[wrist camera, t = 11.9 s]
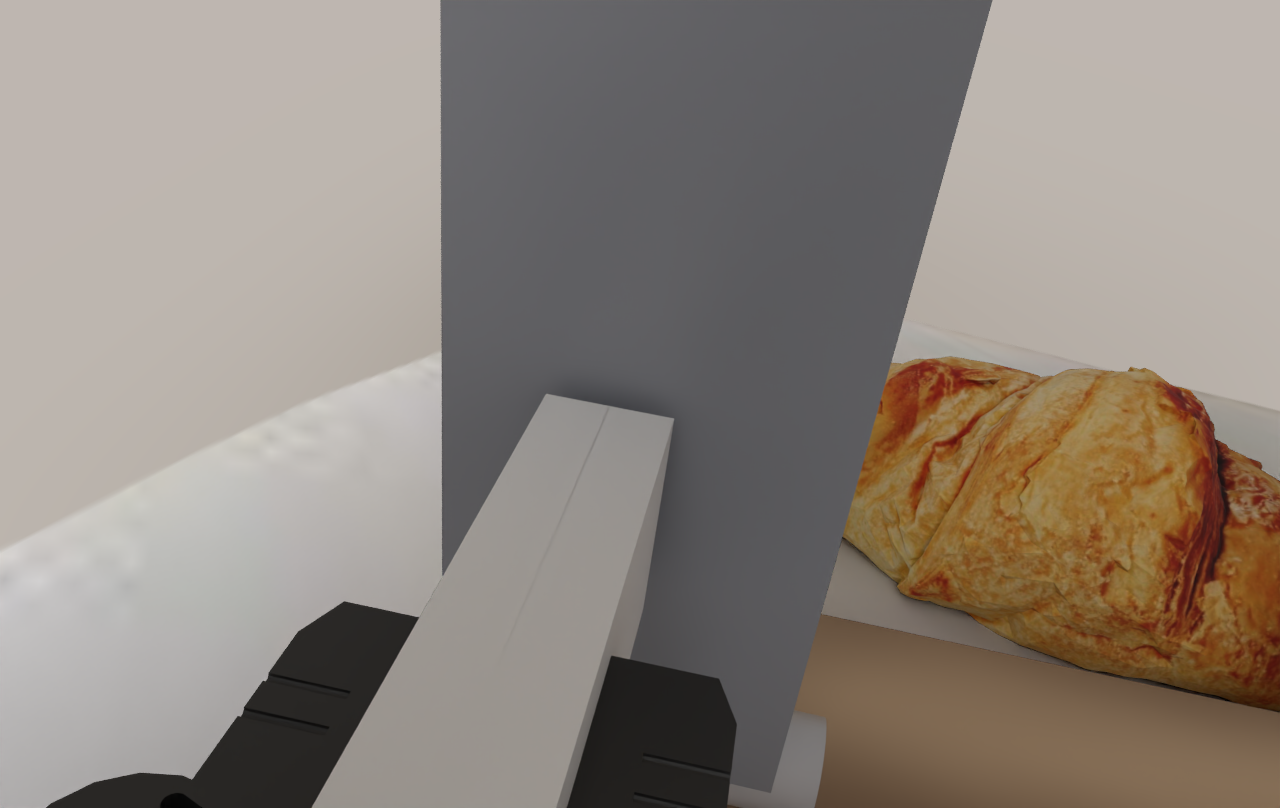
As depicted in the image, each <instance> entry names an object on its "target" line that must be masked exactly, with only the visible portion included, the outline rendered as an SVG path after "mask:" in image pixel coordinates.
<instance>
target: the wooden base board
mask: <svg viewBox="0 0 1280 808" xmlns="http://www.w3.org/2000/svg"><path fill="white" fill-rule="evenodd" d="M794 710H795V711H800V712H804V713H809V714H813V715H818V716H822V717H825V718H826V744H825V753H824V761H823V768H822V774H821V780H820V785H819V790H818V795H817V799H816V803H815V807H814V808H1280V713H1279V712H1274V711H1269V710H1265V709H1260V708H1255V707H1251V706H1246V705H1241V704H1237V703H1232V702H1228V701H1223V700H1218V699H1214V698H1209V697H1204V696H1200V695H1195V694H1190V693H1186V692H1181V691H1176V690H1172V689H1167V688H1162V687H1158V686H1153V685H1148V684H1144V683H1139V682H1135V681H1130V680H1125V679H1121V678H1116V677H1111V676H1107V675H1102V674H1097V673H1093V672H1088V671H1083V670H1079V669H1074V668H1069V667H1065V666H1060V665H1055V664H1051V663H1046V662H1041V661H1037V660H1032V659H1028V658H1023V657H1018V656H1014V655H1009V654H1004V653H1000V652H995V651H990V650H986V649H981V648H976V647H972V646H967V645H962V644H958V643H953V642H948V641H944V640H939V639H934V638H930V637H925V636H921V635H916V634H911V633H907V632H902V631H897V630H893V629H888V628H883V627H879V626H874V625H869V624H865V623H860V622H855V621H851V620H846V619H841V618H837V617H832V616H827V615H823V614H821V615H820V619H819V622H818V626H817V630H816V633H815V637H814V640H813V644H812V648H811V651H810V655H809V658H808V662H807V665H806V669H805V673H804V676H803V680H802V683H801V687H800V690H799V694H798V698H797V701H796V705H795V708H794ZM727 808H740V807H736V806H732V805H728V804H727Z"/></svg>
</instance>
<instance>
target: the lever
mask: <svg viewBox="0 0 1280 808" xmlns="http://www.w3.org/2000/svg"><path fill="white" fill-rule="evenodd" d="M991 3H992V0H441V253H442V254H441V255H442V256H441V271H442V272H441V275H442V277H441V281H442V282H441V287H442V577H443V575H444V573H445V571H446V570H447V568H448V566H449V564H450V563H451V561H452V559H453V557H454V555H455V554H456V552H457V550H458V548H459V547H460V545H461V543H462V541H463V540H464V538H465V536H466V534H467V533H468V531H469V529H470V527H471V525H472V524H473V522H474V520H475V518H476V517H477V515H478V513H479V511H480V510H481V508H482V506H483V504H484V503H485V501H486V499H487V497H488V495H489V494H490V492H491V490H492V488H493V487H494V485H495V483H496V481H497V480H498V478H499V476H500V474H501V473H502V471H503V469H504V467H505V465H506V464H507V462H508V460H509V458H510V457H511V455H512V453H513V451H514V450H515V448H516V446H517V444H518V443H519V441H520V439H521V437H522V435H523V434H524V432H525V430H526V428H527V427H528V425H529V423H530V421H531V420H532V418H533V416H534V414H535V413H536V411H537V409H538V407H539V405H540V404H541V402H542V400H543V398H544V397H545V395H546V394H550V395H556V396H561V397H566V398H571V399H576V400H581V401H586V402H592V403H597V404H602V405H607V406H612V407H617V408H622V409H627V410H633V411H638V412H643V413H648V414H653V415H658V416H664V417H669V418H674V423H673V429H672V436H671V442H670V448H669V454H668V460H667V466H666V472H665V478H664V485H663V491H662V497H661V503H660V509H659V515H658V521H657V527H656V534H655V540H654V546H653V552H652V558H651V564H650V570H649V576H648V583H647V589H646V595H645V601H644V607H643V611H642V615H641V619H640V623H639V626H638V630H637V634H636V638H635V641H634V645H633V649H632V653H631V656H630V660H635V661H640V662H644V663H649V664H654V665H658V666H663V667H667V668H672V669H677V670H681V671H686V672H691V673H695V674H700V675H705V676H709V677H714V678H719V680H720V682H721V685H722V687H723V690H724V692H725V695H726V697H727V700H728V702H729V705H730V708H731V710H732V713H733V715H734V718H735V720H736V723H737V728H736V737H735V745H734V753H733V761H732V770H731V776H730V786H729V795H728V803H727V804H728V805H732V806H736V807H740V808H814V807H815V803H816V799H817V795H818V790H819V785H820V780H821V774H822V768H823V761H824V753H825V744H826V718H825V717H822V716H818V715H813V714H809V713H804V712H800V711H795V710H794V708H795V705H796V701H797V698H798V694H799V690H800V687H801V683H802V680H803V676H804V673H805V669H806V665H807V662H808V658H809V655H810V651H811V648H812V644H813V640H814V637H815V633H816V630H817V626H818V622H819V619H820V615H821V612H822V608H823V605H824V601H825V597H826V594H827V590H828V587H829V583H830V580H831V576H832V572H833V569H834V565H835V562H836V558H837V554H838V551H839V547H840V544H841V540H842V537H843V533H844V529H845V526H846V522H847V519H848V515H849V512H850V508H851V504H852V501H853V497H854V494H855V490H856V486H857V483H858V479H859V476H860V472H861V469H862V465H863V461H864V458H865V454H866V451H867V447H868V444H869V440H870V436H871V433H872V429H873V426H874V422H875V419H876V415H877V411H878V408H879V404H880V401H881V397H882V393H883V390H884V386H885V383H886V379H887V376H888V372H889V368H890V365H891V361H892V358H893V354H894V351H895V347H896V343H897V340H898V336H899V333H900V329H901V325H902V322H903V318H904V315H905V311H906V308H907V304H908V300H909V297H910V293H911V290H912V286H913V283H914V279H915V275H916V272H917V268H918V265H919V261H920V257H921V254H922V250H923V247H924V243H925V239H926V236H927V232H928V229H929V225H930V221H931V218H932V215H933V211H934V207H935V204H936V200H937V197H938V193H939V190H940V186H941V182H942V179H943V175H944V172H945V168H946V164H947V161H948V157H949V154H950V150H951V146H952V142H953V139H954V136H955V132H956V128H957V125H958V122H959V118H960V114H961V111H962V107H963V104H964V100H965V96H966V92H967V89H968V86H969V82H970V79H971V75H972V71H973V68H974V64H975V61H976V57H977V53H978V50H979V46H980V43H981V39H982V36H983V32H984V28H985V25H986V21H987V18H988V14H989V11H990V7H991Z"/></svg>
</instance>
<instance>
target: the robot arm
mask: <svg viewBox="0 0 1280 808" xmlns="http://www.w3.org/2000/svg"><path fill="white" fill-rule="evenodd" d="M673 423H674V418H669V417H664V416H658V415H653V414H648V413H643V412H638V411H633V410H627V409H622V408H617V407H612V406H607V405H602V404H597V403H592V402H586V401H581V400H576V399H571V398H566V397H561V396H556V395H550V394H546V395H545V397H544V398H543V400H542V402H541V404H540V405H539V407H538V409H537V411H536V413H535V414H534V416H533V418H532V420H531V421H530V423H529V425H528V427H527V428H526V430H525V432H524V434H523V435H522V437H521V439H520V441H519V443H518V444H517V446H516V448H515V450H514V451H513V453H512V455H511V457H510V458H509V460H508V462H507V464H506V465H505V467H504V469H503V471H502V473H501V474H500V476H499V478H498V480H497V481H496V483H495V485H494V487H493V488H492V490H491V492H490V494H489V495H488V497H487V499H486V501H485V503H484V504H483V506H482V508H481V510H480V511H479V513H478V515H477V517H476V518H475V520H474V522H473V524H472V525H471V527H470V529H469V531H468V533H467V534H466V536H465V538H464V540H463V541H462V543H461V545H460V547H459V548H458V550H457V552H456V554H455V555H454V557H453V559H452V561H451V563H450V564H449V566H448V568H447V570H446V571H445V573H444V575H443V577H442V578H441V580H440V582H439V584H438V586H437V587H436V589H435V591H434V593H433V594H432V596H431V598H430V600H429V601H428V603H427V605H426V607H425V608H424V610H423V612H422V614H421V616H420V617H414V616H410V615H405V614H400V613H396V612H391V611H386V610H382V609H377V608H372V607H368V606H363V605H359V604H354V603H349V602H345V601H344V602H343V603H341V604H340V605H338V606H337V607H335V608H334V609H332V610H331V611H329V612H327V613H326V614H324V615H323V616H321V617H320V618H318V619H317V620H315V621H314V622H312V623H311V624H309V625H308V626H306V627H305V628H303V629H302V630H300V631H298V633H297V634H296V635H295V637H294V638H293V640H292V641H291V642H290V644H289V645H288V647H287V648H286V649H285V651H284V652H283V654H282V655H281V656H280V658H279V659H278V661H277V662H276V663H275V665H274V666H273V668H272V669H271V670H270V672H269V676H268V679H267V681H266V682H265V681H263V682H262V683H261V684H260V686H259V687H258V689H257V690H256V691H255V693H254V694H253V695H252V697H251V698H250V700H249V701H248V702H247V704H246V705H245V707H244V711H243V714H242V716H241V717H240V716H237V718H236V719H235V721H234V722H233V723H232V725H231V726H230V728H229V729H228V730H227V732H226V733H225V735H224V736H223V737H222V739H221V740H220V742H219V743H218V744H217V746H216V747H215V749H214V750H213V751H212V753H211V754H210V756H209V757H208V758H207V760H206V761H205V763H204V764H203V765H202V767H201V768H200V770H199V771H198V772H197V774H196V775H195V777H194V778H193V779H192V780H191V779H189V778H187V777H184V776H181V775H166V774H151V773H137V774H132V775H127V776H122V777H118V778H113V779H108V780H104V781H99V782H94V783H92V784H90V785H88V786H86V787H84V788H82V789H80V790H78V791H76V792H74V793H72V794H70V795H68V796H66V797H64V798H61V799H59V800H57V801H55V802H53V803H51V804H50V805H49V806H47V807H46V808H727V803H728V795H729V786H730V776H731V770H732V761H733V753H734V745H735V737H736V728H737V723H736V720H735V718H734V715H733V713H732V710H731V708H730V705H729V702H728V700H727V697H726V695H725V692H724V690H723V687H722V685H721V682H720V680H719V678H714V677H709V676H705V675H700V674H695V673H691V672H686V671H681V670H677V669H672V668H667V667H663V666H658V665H654V664H649V663H644V662H640V661H635V660H630V656H631V653H632V649H633V645H634V641H635V638H636V634H637V630H638V626H639V623H640V619H641V615H642V611H643V607H644V601H645V595H646V589H647V583H648V576H649V570H650V564H651V558H652V552H653V546H654V540H655V534H656V527H657V521H658V515H659V509H660V503H661V497H662V491H663V485H664V478H665V472H666V466H667V460H668V454H669V448H670V442H671V436H672V429H673Z"/></svg>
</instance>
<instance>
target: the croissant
mask: <svg viewBox="0 0 1280 808" xmlns="http://www.w3.org/2000/svg"><path fill="white" fill-rule="evenodd" d="M1214 431H1215V429H1214V424H1213V423H1212V422H1211V421H1210V418H1209V416H1208V414H1207V412H1206V410H1205V407H1204V405H1203V403H1202V402H1201V401H1199V400H1198V399H1197V398H1196V397H1195V396H1194V395H1193V393H1192V392H1191V391H1190V390H1187V389H1184V388H1181V387H1175V386H1172V385H1170V384H1169V383H1168V382H1166V381H1165V380H1164V379H1162V378H1161V377H1160V376H1158V375H1157V374H1156V373H1155V372H1153V371H1151V370H1148V369H1146V368H1143V369H1140V370H1139V369H1137V368H1133V367H1130V368H1129V370H1128V372H1114V371H1110V372H1109V371H1104V370H1096V369H1070V370H1066V371H1063V372H1061V373H1059V374H1057V375H1055V376H1046V377H1040V376H1038V375H1035V374H1032V373H1028V372H1024V371H1020V370H1016V369H1012V368H1008V367H1004V366H1000V365H996V364H992V363H986V362H980V361H974V360H968V359H964V358H957V357H951V356H950V357H944V358H936V359H915V360H912V361H909V362H906V363H903V364H901V363H891V365H890V368H889V372H888V376H887V379H886V383H885V386H884V390H883V393H882V397H881V401H880V404H879V408H878V411H877V415H876V419H875V422H874V426H873V429H872V433H871V436H870V440H869V444H868V447H867V451H866V454H865V458H864V461H863V465H862V469H861V472H860V476H859V479H858V483H857V486H856V490H855V494H854V497H853V501H852V504H851V508H850V512H849V515H848V519H847V522H846V526H845V529H844V533H843V537H844V538H845V539H847V540H848V541H849V542H850V543H852V544H853V545H854V546H855V547H857V548H858V549H859V550H860V551H861V552H863V553H864V554H865V555H866V556H867V557H868V558H869V559H870V560H871V561H872V562H873V563H874V564H875V565H876V566H877V567H878V568H879V569H880V570H882V571H883V572H884V573H885V574H887V575H888V576H889V577H890V578H892V579H893V580H894V581H895V582H897V583H899V584H898V586H897V587H898V589H899V591H900V592H901V593H902V594H904V595H906V596H908V597H910V598H914V599H919V600H923V601H931V602H933V603H935V604H937V605H940V606H943V607H948V608H953V609H958V610H963V611H965V612H966V613H968V614H969V615H970V616H972V617H973V618H974V619H975V620H976V621H978V622H979V623H980V624H982V625H984V626H985V627H987V628H988V629H990V630H992V631H993V632H995V633H997V634H998V635H1000V636H1002V637H1004V638H1006V639H1009V640H1011V641H1013V642H1015V643H1017V644H1019V645H1022V646H1025V647H1028V648H1030V649H1033V650H1036V651H1039V652H1041V653H1044V654H1047V655H1050V656H1053V657H1056V658H1059V659H1061V660H1064V661H1067V662H1070V663H1072V664H1075V665H1077V666H1080V667H1082V668H1085V669H1088V670H1095V671H1103V672H1109V673H1113V674H1117V675H1121V676H1125V677H1134V678H1143V679H1149V680H1153V681H1157V682H1161V683H1165V684H1169V685H1173V686H1177V687H1181V688H1185V689H1188V690H1192V691H1197V692H1202V693H1207V694H1212V695H1217V696H1220V697H1222V698H1225V699H1228V700H1230V701H1233V702H1235V703H1239V704H1243V705H1247V706H1251V707H1255V708H1262V709H1268V710H1274V711H1280V481H1279V480H1277V479H1275V478H1274V477H1272V476H1270V475H1269V474H1267V473H1265V472H1264V471H1262V470H1261V469H1262V464H1261V463H1260V462H1258V461H1255V460H1252V459H1249V458H1247V457H1246V456H1244V455H1242V454H1239V453H1237V452H1235V451H1233V450H1230V449H1229V448H1228V446H1227V445H1226V444H1224V443H1222V442H1220V441H1218V440H1216V439H1215V436H1214Z"/></svg>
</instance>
